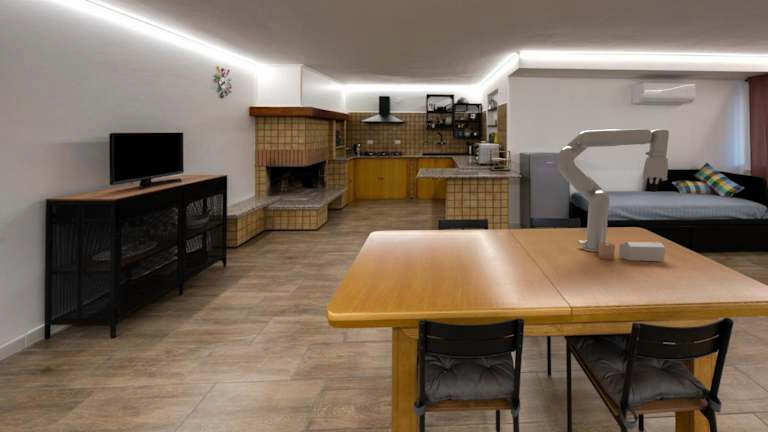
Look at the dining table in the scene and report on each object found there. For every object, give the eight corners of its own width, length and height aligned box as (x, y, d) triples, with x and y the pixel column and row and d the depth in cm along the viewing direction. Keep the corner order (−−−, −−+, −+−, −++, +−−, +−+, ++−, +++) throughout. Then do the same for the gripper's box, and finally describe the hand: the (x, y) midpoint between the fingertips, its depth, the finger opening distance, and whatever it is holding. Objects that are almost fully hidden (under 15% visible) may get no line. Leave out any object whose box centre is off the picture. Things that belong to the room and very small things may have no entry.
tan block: (596, 258, 223) (597, 244, 222) (599, 255, 228) (600, 242, 227) (612, 260, 219) (613, 246, 218) (615, 257, 224) (616, 244, 223)
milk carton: (665, 247, 213) (621, 246, 218) (664, 261, 215) (620, 260, 220) (661, 242, 219) (618, 241, 225) (659, 256, 221) (617, 255, 227)
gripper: (639, 154, 225) (635, 190, 228) (674, 155, 216) (669, 193, 219) (641, 154, 231) (638, 189, 234) (676, 155, 221) (671, 192, 224)
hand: (653, 191), depth 226 cm, fingers closed
